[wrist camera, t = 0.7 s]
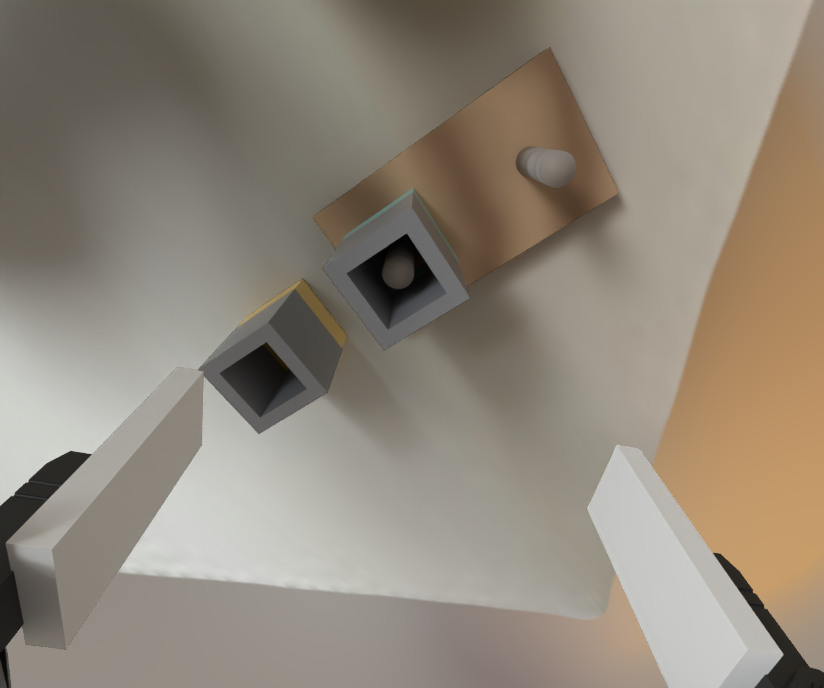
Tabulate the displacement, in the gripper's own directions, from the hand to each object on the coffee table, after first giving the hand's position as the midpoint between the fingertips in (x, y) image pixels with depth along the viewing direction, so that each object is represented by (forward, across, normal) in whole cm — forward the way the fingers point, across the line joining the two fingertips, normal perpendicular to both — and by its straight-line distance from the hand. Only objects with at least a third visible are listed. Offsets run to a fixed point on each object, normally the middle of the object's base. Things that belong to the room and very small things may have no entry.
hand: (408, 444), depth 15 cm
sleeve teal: (+21, -1, +1) cm, 21 cm away
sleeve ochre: (+22, -8, -7) cm, 24 cm away
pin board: (+22, +3, +5) cm, 23 cm away
